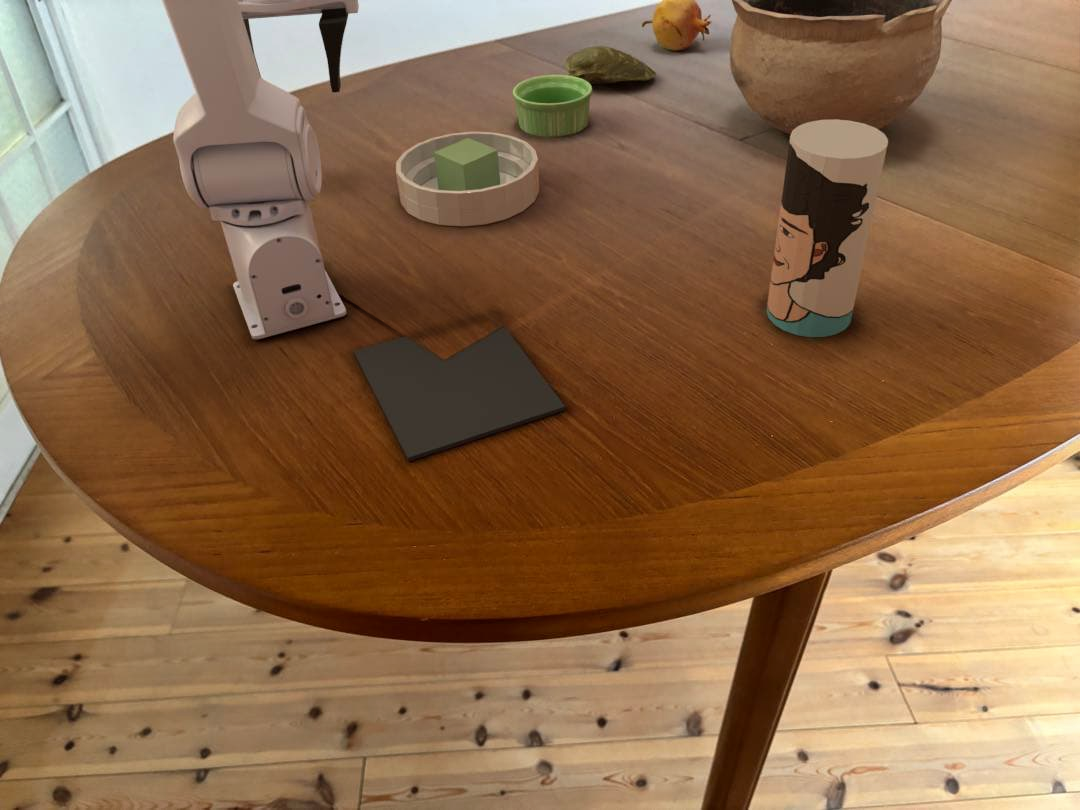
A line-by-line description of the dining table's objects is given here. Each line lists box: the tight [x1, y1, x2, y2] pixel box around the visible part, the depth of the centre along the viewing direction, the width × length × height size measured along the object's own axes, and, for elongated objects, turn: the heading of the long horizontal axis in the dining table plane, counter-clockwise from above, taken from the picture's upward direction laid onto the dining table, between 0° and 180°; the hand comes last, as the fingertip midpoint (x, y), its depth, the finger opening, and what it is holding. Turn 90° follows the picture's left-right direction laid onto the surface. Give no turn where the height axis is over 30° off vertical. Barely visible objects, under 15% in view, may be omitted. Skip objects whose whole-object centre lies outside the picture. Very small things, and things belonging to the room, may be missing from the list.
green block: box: [434, 138, 500, 191], centre depth 92 cm, size 4×4×4 cm
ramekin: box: [512, 74, 593, 138], centre depth 105 cm, size 9×9×4 cm
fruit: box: [641, 0, 712, 52], centre depth 123 cm, size 7×7×10 cm
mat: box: [353, 325, 566, 462], centre depth 70 cm, size 14×12×1 cm
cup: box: [766, 119, 889, 338], centre depth 70 cm, size 7×7×15 cm
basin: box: [395, 131, 540, 227], centre depth 92 cm, size 14×14×4 cm
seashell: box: [564, 45, 657, 85], centre depth 115 cm, size 10×7×10 cm
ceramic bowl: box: [729, 0, 953, 136], centre depth 98 cm, size 22×22×15 cm
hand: (297, 91), depth 91 cm, fingers open, 7 cm apart
